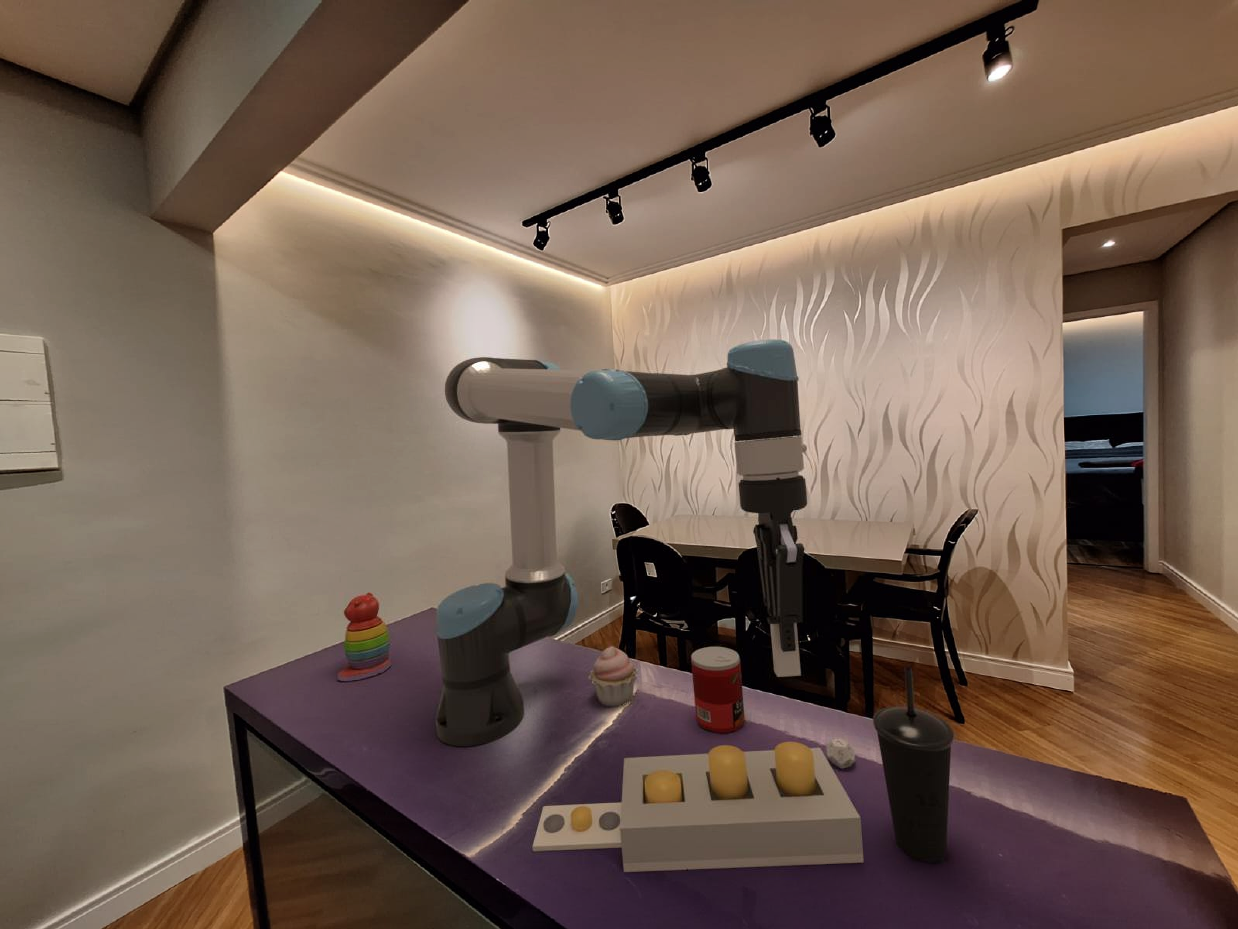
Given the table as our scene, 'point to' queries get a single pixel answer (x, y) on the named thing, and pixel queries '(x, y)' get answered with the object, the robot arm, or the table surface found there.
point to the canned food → (718, 689)
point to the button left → (663, 787)
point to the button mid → (728, 772)
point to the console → (735, 819)
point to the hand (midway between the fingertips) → (787, 673)
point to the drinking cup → (916, 775)
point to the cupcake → (613, 677)
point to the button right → (795, 769)
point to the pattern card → (579, 827)
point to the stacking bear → (365, 637)
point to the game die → (840, 753)
